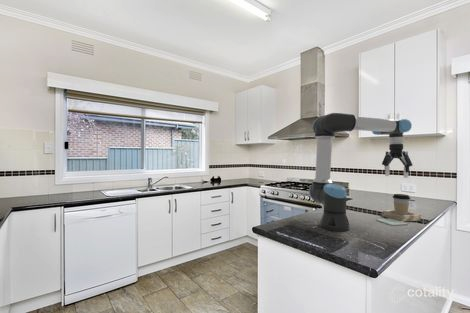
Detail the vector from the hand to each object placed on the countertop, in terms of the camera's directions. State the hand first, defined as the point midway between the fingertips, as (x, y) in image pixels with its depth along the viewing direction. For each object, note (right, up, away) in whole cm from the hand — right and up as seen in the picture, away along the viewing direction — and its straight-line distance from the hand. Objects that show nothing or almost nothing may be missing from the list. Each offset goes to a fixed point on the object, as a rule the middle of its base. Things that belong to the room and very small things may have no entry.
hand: (396, 176), depth 153 cm
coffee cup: (+2, -27, -2) cm, 27 cm away
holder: (+2, -27, -2) cm, 27 cm away
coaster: (-10, -27, -11) cm, 31 cm away
